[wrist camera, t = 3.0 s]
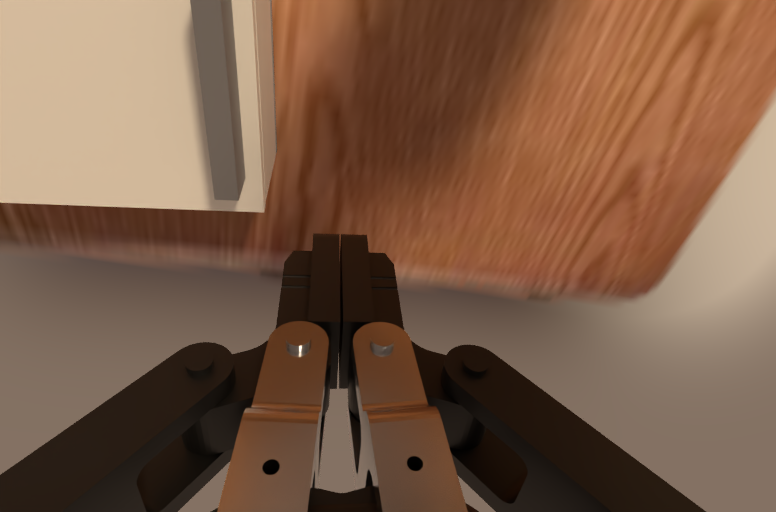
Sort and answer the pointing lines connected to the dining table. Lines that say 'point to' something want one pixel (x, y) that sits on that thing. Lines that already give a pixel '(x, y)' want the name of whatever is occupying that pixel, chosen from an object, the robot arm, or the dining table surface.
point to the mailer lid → (131, 104)
